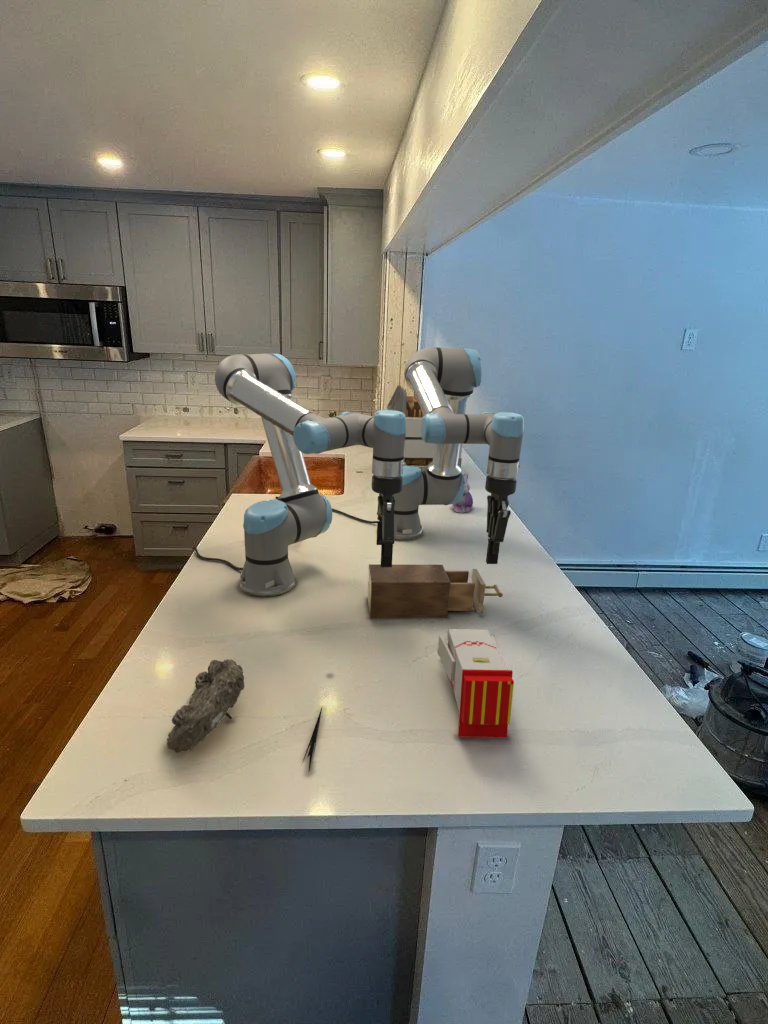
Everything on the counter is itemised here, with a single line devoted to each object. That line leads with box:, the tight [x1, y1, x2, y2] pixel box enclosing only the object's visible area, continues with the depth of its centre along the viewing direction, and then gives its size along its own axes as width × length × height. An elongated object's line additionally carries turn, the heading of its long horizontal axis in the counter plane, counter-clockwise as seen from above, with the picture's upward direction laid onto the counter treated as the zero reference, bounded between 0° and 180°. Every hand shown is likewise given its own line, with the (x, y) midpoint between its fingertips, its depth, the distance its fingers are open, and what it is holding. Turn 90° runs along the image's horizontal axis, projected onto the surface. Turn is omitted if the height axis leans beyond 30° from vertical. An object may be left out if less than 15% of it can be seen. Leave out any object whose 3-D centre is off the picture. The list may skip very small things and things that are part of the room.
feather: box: [301, 673, 332, 771], centre depth 108 cm, size 2×28×2 cm
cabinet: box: [367, 563, 450, 619], centre depth 149 cm, size 20×10×10 cm, turn 95°
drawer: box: [445, 568, 504, 614], centre depth 150 cm, size 24×9×8 cm, turn 95°
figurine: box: [451, 472, 474, 514], centre depth 225 cm, size 9×10×15 cm
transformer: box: [386, 384, 463, 469], centre depth 268 cm, size 34×33×41 cm
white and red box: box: [437, 628, 515, 738], centre depth 117 cm, size 12×13×30 cm
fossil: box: [166, 658, 245, 754], centre depth 106 cm, size 22×10×15 cm
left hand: (383, 555), depth 145 cm, fingers open, 13 cm apart
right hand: (491, 562), depth 148 cm, fingers closed
